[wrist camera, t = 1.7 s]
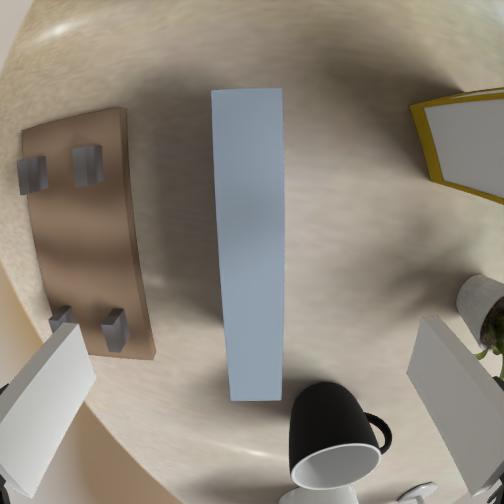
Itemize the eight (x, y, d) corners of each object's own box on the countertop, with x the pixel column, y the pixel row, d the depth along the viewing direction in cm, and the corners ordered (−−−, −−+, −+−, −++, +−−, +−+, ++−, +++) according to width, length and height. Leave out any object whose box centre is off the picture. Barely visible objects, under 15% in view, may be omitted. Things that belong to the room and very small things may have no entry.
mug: (276, 422, 35) (280, 490, 26) (294, 369, 32) (306, 443, 23) (364, 425, 36) (383, 485, 26) (391, 376, 33) (422, 438, 23)
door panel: (227, 110, 24) (211, 90, 15) (271, 108, 24) (281, 87, 15) (237, 328, 31) (230, 400, 21) (274, 327, 31) (281, 400, 21)
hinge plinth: (30, 130, 24) (2, 131, 20) (126, 108, 24) (103, 104, 20) (70, 344, 32) (53, 366, 28) (156, 351, 32) (144, 378, 27)
